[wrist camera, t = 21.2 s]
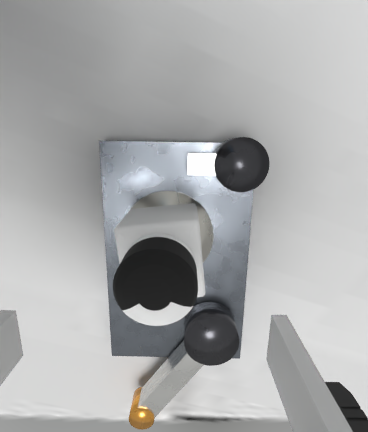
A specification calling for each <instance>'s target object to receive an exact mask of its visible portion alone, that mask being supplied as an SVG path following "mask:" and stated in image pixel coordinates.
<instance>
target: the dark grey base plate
mask: <svg viewBox="0 0 368 432" xmlns="http://www.w3.org/2000/svg"><path fill="white" fill-rule="evenodd" d="M220 144H222V143H205V142H144V141H99V145H100V162H101V179H102V196H103V213H104V230H105V246H106V263H107V280H108V297H109V314H110V331H111V348H112V356H149V357H169V356H170V355H171V354H172V353H173V352H174V351H175V349H176V348H177V347H178V346H179V345H180V344H181V343H182V342H183V340H184V323H185V318H186V315H185V316H184V317H183V318H182V319H180V320H178V321H176V322H174V323H171V324H168V325H163V326H150V325H145V324H142V323H139V322H137V321H135V320H133V319H131V318H130V317H128V316H127V315H126V314H125V313H124V312H123V311H122V310H121V309H120V307H119V306H118V304H117V302H116V300H115V297H114V294H113V279H114V275H115V273H116V270H117V268H118V267H119V265H120V263H119V257H118V251H117V245H116V239H115V234H114V229H115V227H116V226H117V225H118V224H119V223H120V222H121V220H122V219H123V218H124V217H125V216H126V214H127V213H128V212H129V211H130V210H131V209H136V208H146V207H156V206H167V205H177V204H188V203H195V204H196V206H197V212H198V218H199V226H200V237H201V248H202V259H203V270H204V281H205V295H204V296H203V297H197V299H196V302H195V304H194V306H196V305H198V304H200V303H203V302H216V303H220V304H222V305H224V306H225V307H227V308H228V309H229V310H230V311H231V313H232V315H233V317H234V320H235V324H236V328H237V331H238V335H239V348H238V350H237V352H236V354H235V355H234V356H233V357H232V358H240V350H241V338H242V325H243V313H244V300H245V288H246V275H247V263H248V250H249V238H250V225H251V213H252V200H253V190H251V191H248V192H234V191H231V190H229V189H227V188H225V187H224V186H223V185H222V184H221V183H220V182H219V181H218V179H217V178H216V177H215V176H213V175H187V162H188V152H190V153H214V152H215V150H216V149H217V147H218V146H219V145H220ZM194 306H193V307H194ZM193 307H192V308H193Z"/></svg>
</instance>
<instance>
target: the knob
mask: <svg viewBox="0 0 368 432" xmlns="http://www.w3.org/2000/svg"><path fill="white" fill-rule="evenodd" d="M268 170H269V157H268V154H267V152H266V150H265V148H264V147H263V146H262V145H261V144H260V143H259V142H258V141H256V140H254V139H251V138H246V137H240V138H232V139H229V140H226V141H224V142H223V143H222V144H220V145H219V146H218V147H217V149H216V150H215V152H214V153H190V152H188V162H187V175H213V176H215V177H216V178H217V179H218V181H219V182H220V183H221V184H222V185H223V186H224V187H225V188H227V189H229V190H231V191H234V192H248V191H251V190H253V189H255V188H256V187H258V186H259V185H260V184H261V183H262V182H263V181H264V179H265V177H266V176H267V173H268Z"/></svg>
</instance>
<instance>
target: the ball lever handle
mask: <svg viewBox="0 0 368 432" xmlns="http://www.w3.org/2000/svg"><path fill="white" fill-rule="evenodd" d="M238 348H239V335H238V331H237V328H236V324H235V320H234V317H233V315H232V313H231V311H230V310H229V309H228V308H227V307H225V306H224V305H222V304H220V303H216V302H203V303H200V304H198V305H196V306H194V307H193V308H192V309H191V310H190V311H189V313H188V314H187V315H186V318H185V323H184V340H183V342H182V343H181V344H180V345H179V346H178V347H177V348H176V349H175V351H174V352H173V353H172V354H171V355H170V356H169V357H168V359H167V360H166V361H165V362H164V363H163V364H162V365H161V367H160V368H159V369H158V370H157V371H156V372H155V373H154V375H153V376H152V377H151V378H150V379H149V380H148V381H147V382H146V384H145V385H144V386H143V387H140V388H138V389H137V390H136V391H135V392H134V396H133V401H132V406H131V410H130V415H129V422H130V424H131V425H132V426H133V427H135V428H137V429H147V428H149V427H151V426H152V425H153V423H154V418H155V417H156V416H157V415H158V414H159V412H160V411H161V410H162V409H163V408H164V407H165V406H166V405H167V404H168V403H169V402H170V401H171V399H172V398H173V397H174V396H175V395H176V394H177V393H178V392H179V391H180V390H181V389H182V388H183V387H184V385H185V384H186V383H187V382H188V381H189V380H190V379H191V378H192V377H193V376H194V375H195V374H196V373H197V371H198V370H199V369H200V368H201V367H202V366H203V365H219V364H222V363H225V362H227V361H228V360H230V359H231V358H232V357H233V356H234V355H235V354H236V352H237V350H238Z"/></svg>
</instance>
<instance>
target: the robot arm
mask: <svg viewBox="0 0 368 432" xmlns="http://www.w3.org/2000/svg"><path fill="white" fill-rule="evenodd" d="M22 356H23V351H22V345H21V339H20V333H19V327H18V321H17V315H16V311H8V310H1V311H0V385H1V384H2V383H3V381H4V380H5V379H6V377H7V376H8V375H9V373H10V372H11V371H12V369H13V368H14V367H15V365H16V364H17V363H18V361H19V360H20V359H21V357H22ZM267 362H268V365H269V368H270V370H271V373H272V376H273V379H274V381H275V384H276V387H277V390H278V392H279V395H280V398H281V400H282V403H283V406H284V409H285V411H286V414H287V417H288V420H289V422H290V425H291V428H292V431H293V432H368V419H367V417H366V415H365V413H364V412H363V410H361V409H360V406H359V404H358V403H357V401H356V400H355V398H354V397H353V395H352V394H351V393H350V392H349V391H348V390H347V389H346V388H345V387H344V386H343V385H342V384H340V383H339V382H324V380H323V378H322V377H321V375H320V373H319V371H318V370H317V368H316V366H315V364H314V363H313V361H312V359H311V357H310V356H309V354H308V352H307V350H306V349H305V347H304V345H303V343H302V341H301V340H300V338H299V336H298V334H297V333H296V331H295V329H294V327H293V326H292V324H291V322H290V320H289V319H288V317H287V315H272V316H271V324H270V333H269V342H268V350H267Z"/></svg>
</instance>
